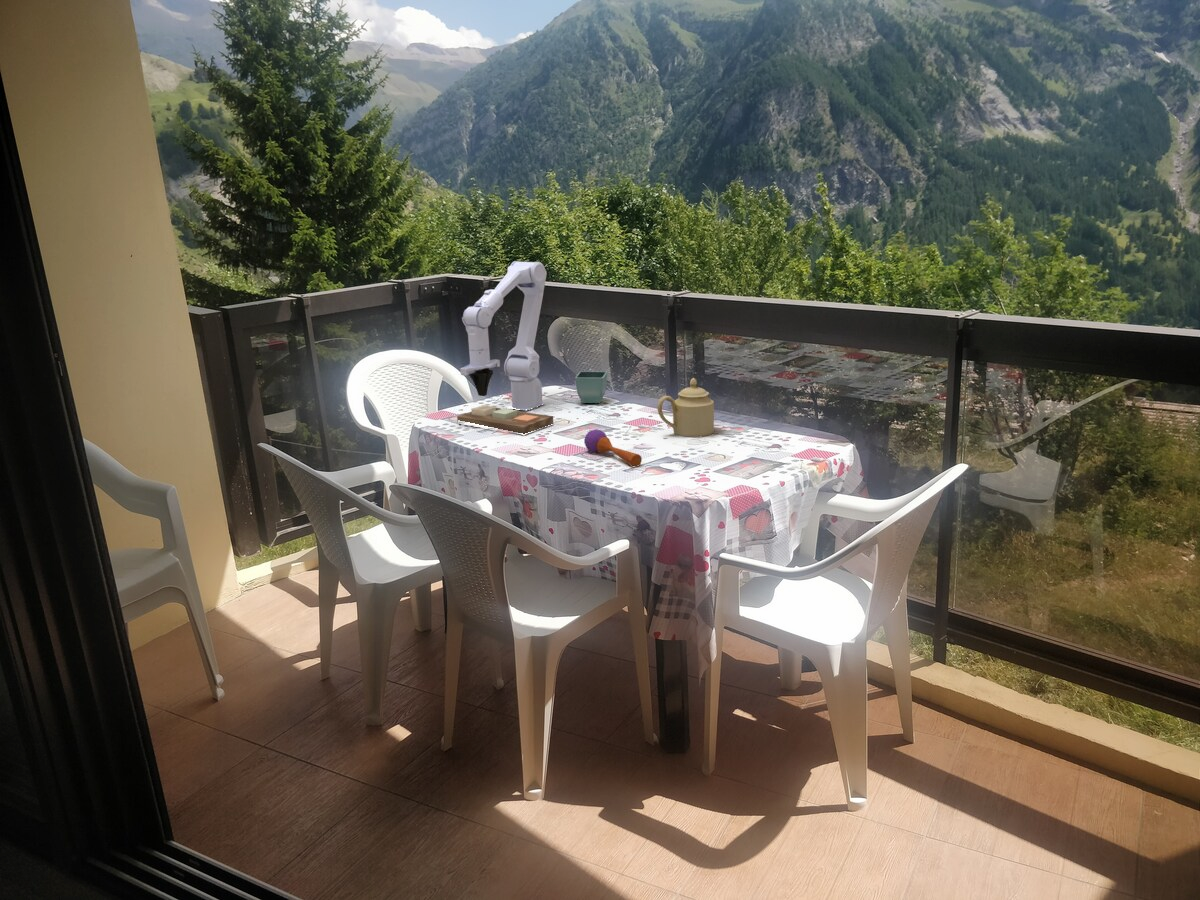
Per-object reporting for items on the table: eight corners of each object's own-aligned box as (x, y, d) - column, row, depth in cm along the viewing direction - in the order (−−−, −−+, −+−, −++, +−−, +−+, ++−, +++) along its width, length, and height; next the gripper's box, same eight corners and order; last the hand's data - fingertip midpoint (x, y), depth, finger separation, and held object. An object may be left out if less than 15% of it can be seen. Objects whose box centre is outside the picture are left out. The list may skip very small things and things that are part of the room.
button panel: (488, 414, 286) (487, 406, 285) (553, 424, 272) (553, 416, 271) (457, 424, 276) (457, 416, 275) (524, 435, 261) (523, 426, 261)
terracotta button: (525, 423, 272) (524, 414, 272) (539, 425, 269) (538, 416, 269) (514, 427, 268) (513, 418, 268) (527, 429, 266) (527, 420, 265)
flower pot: (604, 406, 290) (603, 377, 288) (575, 406, 292) (574, 377, 289) (608, 399, 299) (607, 371, 296) (580, 399, 300) (579, 371, 297)
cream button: (483, 413, 281) (482, 405, 280) (496, 415, 278) (495, 407, 277) (472, 417, 277) (471, 408, 276) (484, 419, 274) (484, 410, 274)
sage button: (504, 416, 276) (503, 408, 276) (517, 418, 274) (516, 410, 273) (492, 420, 273) (491, 412, 272) (505, 422, 270) (505, 414, 269)
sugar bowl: (687, 443, 249) (687, 386, 245) (655, 436, 256) (654, 381, 252) (722, 430, 259) (722, 376, 255) (690, 424, 267) (689, 371, 262)
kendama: (624, 454, 228) (578, 431, 244) (628, 476, 231) (581, 452, 246) (644, 445, 231) (597, 423, 246) (647, 467, 234) (600, 443, 249)
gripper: (472, 354, 264) (475, 402, 268) (506, 345, 275) (509, 391, 279) (453, 352, 268) (457, 399, 272) (488, 343, 279) (491, 389, 283)
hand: (482, 395), depth 276 cm, fingers closed
